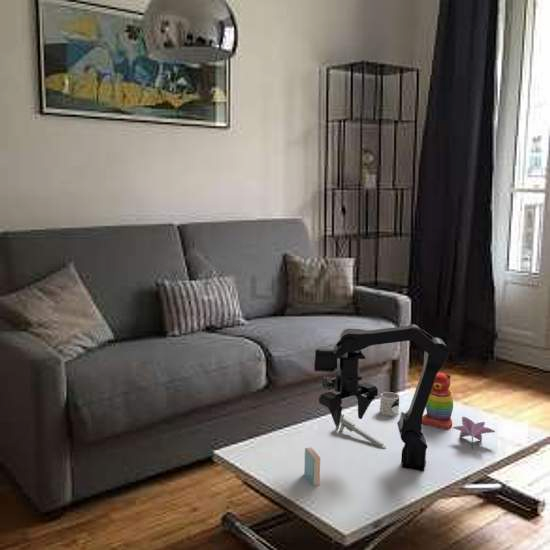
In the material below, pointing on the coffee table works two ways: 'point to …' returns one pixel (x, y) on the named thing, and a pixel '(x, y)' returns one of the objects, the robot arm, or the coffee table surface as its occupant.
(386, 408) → the mug
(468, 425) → the lily
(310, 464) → the tile
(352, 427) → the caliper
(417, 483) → the coffee table surface
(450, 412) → the stacking bear
